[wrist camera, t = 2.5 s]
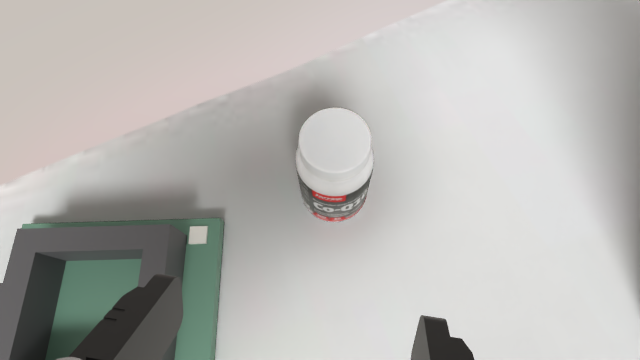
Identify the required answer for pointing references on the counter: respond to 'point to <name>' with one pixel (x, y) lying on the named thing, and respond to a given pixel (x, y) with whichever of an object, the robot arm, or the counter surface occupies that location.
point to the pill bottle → (334, 163)
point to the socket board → (106, 282)
